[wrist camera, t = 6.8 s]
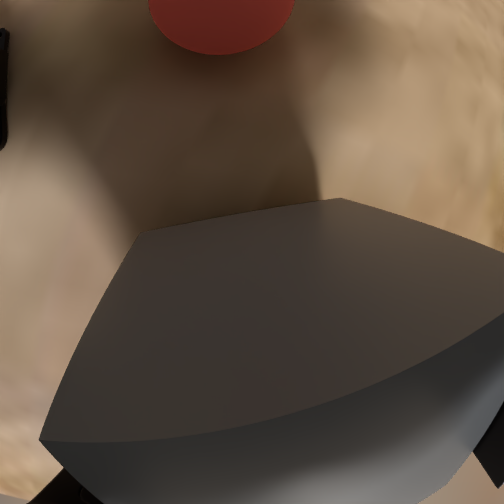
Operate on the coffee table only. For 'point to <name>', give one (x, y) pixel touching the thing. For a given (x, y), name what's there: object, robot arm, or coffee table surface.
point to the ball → (220, 23)
